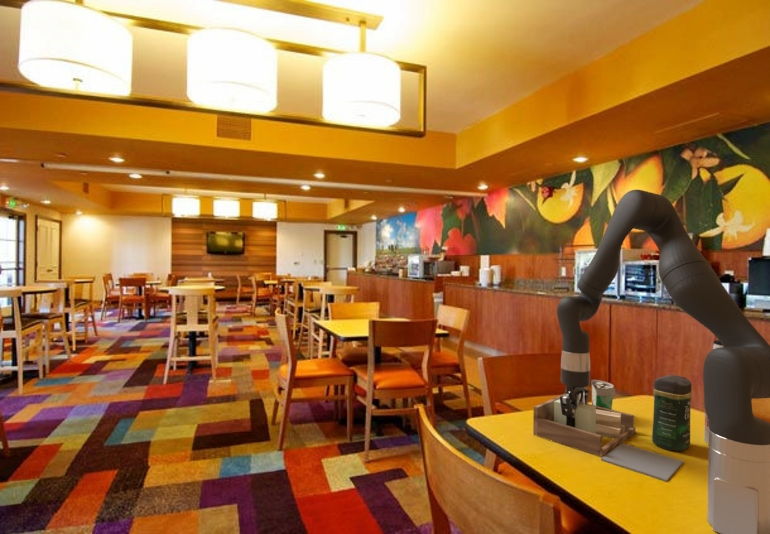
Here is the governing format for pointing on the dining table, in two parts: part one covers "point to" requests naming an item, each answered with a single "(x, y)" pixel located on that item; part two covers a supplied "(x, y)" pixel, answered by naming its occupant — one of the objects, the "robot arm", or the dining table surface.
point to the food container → (602, 394)
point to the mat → (643, 461)
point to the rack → (577, 430)
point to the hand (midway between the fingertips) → (574, 427)
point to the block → (578, 416)
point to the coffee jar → (672, 412)
